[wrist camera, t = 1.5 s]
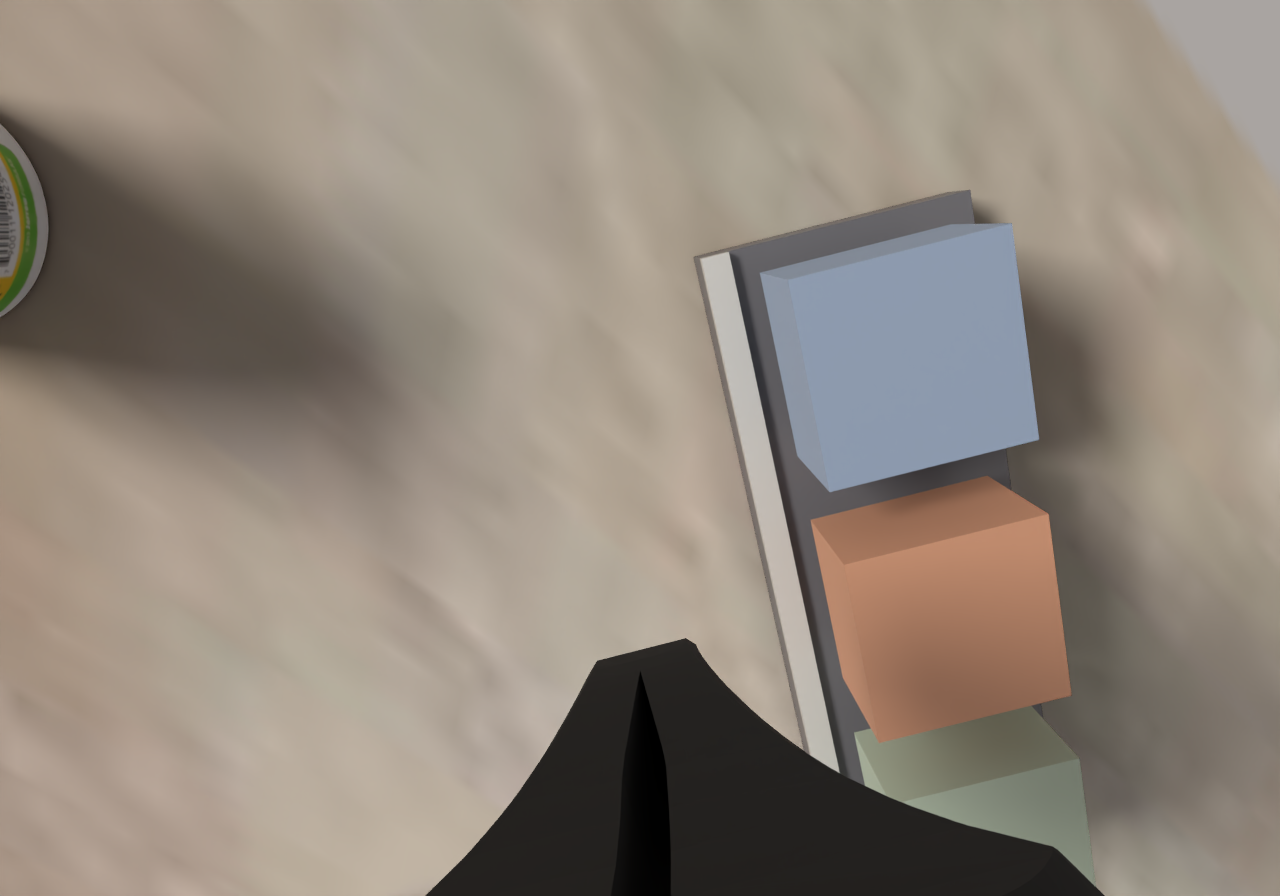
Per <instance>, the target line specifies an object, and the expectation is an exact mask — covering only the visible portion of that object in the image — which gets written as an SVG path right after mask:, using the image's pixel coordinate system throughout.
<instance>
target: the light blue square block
mask: <svg viewBox="0 0 1280 896" xmlns="http://www.w3.org/2000/svg"><path fill="white" fill-rule="evenodd" d="M760 276H761V281H762V286H763V291H764V296H765V300H766V305H767V310H768V315H769V320H770V325H771V330H772V335H773V339H774V344H775V349H776V354H777V359H778V364H779V369H780V374H781V379H782V383H783V388H784V393H785V398H786V403H787V408H788V413H789V418H790V422H791V427H792V432H793V437H794V442H795V447H796V452H797V456H798V457H799V459H800V460H801V461H802V462H803V463H804V464H805V465H806V466H807V467H808V469H809V470H810V471H811V472H812V473H813V474H814V475H815V476H816V478H817V479H818V480H819V481H820V482H821V483H822V484H823V485H824V486H825V488H826V489H827V490H828V491H829V492H833V491H837V490H841V489H845V488H849V487H853V486H857V485H861V484H865V483H869V482H873V481H877V480H881V479H885V478H889V477H893V476H897V475H901V474H905V473H909V472H913V471H916V470H920V469H924V468H928V467H932V466H936V465H940V464H944V463H948V462H952V461H956V460H960V459H964V458H968V457H972V456H976V455H980V454H984V453H988V452H992V451H996V450H1000V449H1004V448H1008V447H1012V446H1016V445H1020V444H1024V443H1028V442H1032V441H1036V440H1039V434H1038V426H1037V418H1036V411H1035V403H1034V395H1033V387H1032V379H1031V371H1030V363H1029V355H1028V347H1027V340H1026V332H1025V324H1024V316H1023V308H1022V300H1021V292H1020V284H1019V276H1018V269H1017V261H1016V253H1015V245H1014V237H1013V229H1012V223H999V224H950V225H946V226H942V227H938V228H934V229H930V230H927V231H923V232H919V233H915V234H911V235H907V236H903V237H899V238H895V239H891V240H887V241H883V242H879V243H875V244H871V245H867V246H863V247H859V248H855V249H852V250H848V251H844V252H840V253H836V254H832V255H828V256H824V257H820V258H816V259H812V260H808V261H804V262H800V263H796V264H792V265H788V266H784V267H781V268H777V269H773V270H769V271H765V272H761V273H760Z"/></svg>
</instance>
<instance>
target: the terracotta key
mask: <svg viewBox="0 0 1280 896" xmlns="http://www.w3.org/2000/svg"><path fill="white" fill-rule="evenodd" d="M811 525H812V530H813V535H814V540H815V545H816V549H817V554H818V559H819V564H820V569H821V574H822V579H823V584H824V588H825V593H826V598H827V603H828V608H829V613H830V618H831V623H832V628H833V632H834V637H835V642H836V647H837V652H838V657H839V662H840V667H841V671H842V676H843V679H844V681H845V683H846V684H847V686H848V688H849V690H850V692H851V693H852V695H853V697H854V699H855V701H856V702H857V704H858V706H859V708H860V710H861V711H862V713H863V715H864V717H865V719H866V720H867V722H868V724H869V726H870V728H871V729H872V731H873V733H874V735H875V737H876V739H877V740H878V742H879V743H882V742H886V741H890V740H894V739H898V738H902V737H906V736H910V735H914V734H918V733H922V732H926V731H930V730H934V729H938V728H942V727H946V726H951V725H955V724H959V723H963V722H967V721H971V720H975V719H979V718H983V717H987V716H991V715H995V714H999V713H1003V712H1007V711H1011V710H1015V709H1019V708H1024V707H1028V706H1032V705H1036V704H1040V703H1044V702H1048V701H1052V700H1056V699H1060V698H1064V697H1068V696H1072V694H1071V687H1070V679H1069V671H1068V663H1067V655H1066V647H1065V639H1064V631H1063V623H1062V616H1061V608H1060V600H1059V592H1058V584H1057V576H1056V568H1055V560H1054V553H1053V545H1052V537H1051V529H1050V521H1049V514H1048V513H1046V512H1045V511H1043V510H1041V509H1040V508H1038V507H1037V506H1035V505H1033V504H1032V503H1030V502H1029V501H1027V500H1025V499H1024V498H1022V497H1021V496H1019V495H1017V494H1016V493H1014V492H1013V491H1011V490H1009V489H1008V488H1006V487H1005V486H1003V485H1001V484H1000V483H998V482H997V481H995V480H993V479H992V478H990V477H989V476H984V477H980V478H976V479H972V480H968V481H964V482H960V483H956V484H952V485H948V486H944V487H940V488H936V489H932V490H928V491H924V492H920V493H916V494H912V495H908V496H904V497H900V498H896V499H892V500H888V501H884V502H880V503H876V504H872V505H868V506H864V507H860V508H856V509H852V510H848V511H844V512H840V513H836V514H832V515H828V516H824V517H820V518H816V519H812V520H811Z"/></svg>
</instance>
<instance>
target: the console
mask: <svg viewBox="0 0 1280 896" xmlns="http://www.w3.org/2000/svg"><path fill="white" fill-rule="evenodd" d="M950 224H975V222H974V214H973V207H972V200H971V193H970V190H965V191H956V192H947V193H943V194H939V195H935V196H931V197H927V198H923V199H920V200H916V201H912V202H908V203H904V204H900V205H896V206H892V207H888V208H884V209H880V210H876V211H872V212H868V213H864V214H860V215H857V216H853V217H849V218H845V219H841V220H837V221H833V222H829V223H825V224H821V225H817V226H813V227H809V228H805V229H801V230H797V231H793V232H790V233H786V234H782V235H778V236H774V237H770V238H766V239H762V240H758V241H754V242H750V243H746V244H742V245H738V246H734V247H730V248H727V249H723V250H719V251H715V252H711V253H707V254H703V255H699V256H695V257H694V261H695V266H696V270H697V275H698V279H699V284H700V288H701V292H702V297H703V301H704V306H705V310H706V315H707V319H708V324H709V328H710V333H711V337H712V342H713V346H714V351H715V355H716V359H717V364H718V368H719V373H720V377H721V382H722V386H723V391H724V395H725V400H726V404H727V409H728V413H729V418H730V422H731V427H732V431H733V435H734V440H735V444H736V449H737V453H738V458H739V462H740V467H741V471H742V476H743V480H744V485H745V489H746V494H747V498H748V502H749V507H750V511H751V516H752V520H753V525H754V529H755V534H756V538H757V543H758V547H759V552H760V556H761V561H762V565H763V569H764V574H765V578H766V583H767V587H768V592H769V596H770V601H771V605H772V610H773V614H774V619H775V623H776V628H777V632H778V637H779V641H780V645H781V650H782V654H783V659H784V663H785V668H786V672H787V677H788V681H789V686H790V690H791V695H792V699H793V704H794V708H795V712H796V717H797V721H798V726H799V730H800V735H801V739H802V744H803V748H804V751H805V752H806V753H808V754H809V755H811V756H812V757H814V758H816V759H817V760H819V761H820V762H822V763H823V764H825V765H827V766H828V767H830V768H831V769H833V770H835V771H837V772H839V773H840V774H842V775H844V776H846V777H847V778H849V779H852V780H854V781H856V782H858V783H860V784H862V785H864V786H865V784H864V779H863V774H862V769H861V764H860V759H859V754H858V750H857V745H856V740H855V735H854V733H855V732H859V731H863V730H867V729H871V728H870V726H869V724H868V722H867V720H866V719H865V717H864V715H863V713H862V711H861V710H860V708H859V706H858V704H857V702H856V701H855V699H854V697H853V695H852V693H851V692H850V690H849V688H848V686H847V684H846V683H845V681H844V679H843V676H842V671H841V667H840V662H839V657H838V652H837V647H836V642H835V637H834V632H833V628H832V623H831V618H830V613H829V608H828V603H827V598H826V593H825V588H824V584H823V579H822V574H821V569H820V564H819V559H818V554H817V549H816V545H815V540H814V535H813V530H812V525H811V520H812V519H816V518H820V517H824V516H828V515H832V514H836V513H840V512H844V511H848V510H852V509H856V508H860V507H864V506H868V505H872V504H876V503H880V502H884V501H888V500H892V499H896V498H900V497H904V496H908V495H912V494H916V493H920V492H924V491H928V490H932V489H936V488H940V487H944V486H948V485H952V484H956V483H960V482H964V481H968V480H972V479H976V478H980V477H984V476H989V477H990V478H992V479H993V480H995V481H997V482H998V483H1000V484H1001V485H1003V486H1005V487H1006V488H1008V489H1009V490H1011V483H1010V476H1009V468H1008V461H1007V454H1006V448H1004V449H1000V450H996V451H992V452H988V453H984V454H980V455H976V456H972V457H968V458H964V459H960V460H956V461H952V462H948V463H944V464H940V465H936V466H932V467H928V468H924V469H920V470H916V471H913V472H909V473H905V474H901V475H897V476H893V477H889V478H885V479H881V480H877V481H873V482H869V483H865V484H861V485H857V486H853V487H849V488H845V489H841V490H837V491H833V492H829V491H828V490H827V489H826V488H825V486H824V485H823V484H822V483H821V482H820V481H819V480H818V479H817V478H816V476H815V475H814V474H813V473H812V472H811V471H810V470H809V469H808V467H807V466H806V465H805V464H804V463H803V462H802V461H801V460H800V459H799V457H798V456H797V452H796V447H795V442H794V437H793V432H792V427H791V422H790V418H789V413H788V408H787V403H786V398H785V393H784V388H783V383H782V379H781V374H780V369H779V364H778V359H777V354H776V349H775V344H774V339H773V335H772V330H771V325H770V320H769V315H768V310H767V305H766V300H765V296H764V291H763V286H762V281H761V276H760V273H761V272H765V271H769V270H773V269H777V268H781V267H784V266H788V265H792V264H796V263H800V262H804V261H808V260H812V259H816V258H820V257H824V256H828V255H832V254H836V253H840V252H844V251H848V250H852V249H855V248H859V247H863V246H867V245H871V244H875V243H879V242H883V241H887V240H891V239H895V238H899V237H903V236H907V235H911V234H915V233H919V232H923V231H927V230H930V229H934V228H938V227H942V226H946V225H950ZM1011 491H1012V490H1011ZM1032 707H1033V708H1034V709H1035V710H1036V711H1037V712H1038V714H1039V715H1040V716H1041V717H1042V718H1043V715H1042V708H1041V703H1040V704H1036V705H1032Z"/></svg>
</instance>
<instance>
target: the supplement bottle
mask: <svg viewBox="0 0 1280 896" xmlns="http://www.w3.org/2000/svg"><path fill="white" fill-rule="evenodd" d="M48 231H49V227H48V213H47V207H46V202H45V198H44V194H43V191H42V187H41V184H40V182H39V179H38V177H37V174H36V172H35V170H34V168H33V166H32V164H31V162H30V161H29V159H28V157H27V156H26V154H25V153H24V151H23V150H22V148H21V147H20V146H19V144H18V143H17V142H16V140H15V139H14V138H13V137H12V136H11V134H10V133H9V132H8V131H7V130H6V129H5V128H4V127H3V126H2V125H1V124H0V317H1V316H3V315H4V314H6V313H7V312H9V311H10V310H11V309H13V308H14V307H15V306H16V305H17V304H18V303H19V302H20V301H21V300H22V299H23V298H24V297H25V296H26V295H27V293H28V292H29V291H30V289H31V288H32V286H33V285H34V283H35V281H36V279H37V277H38V275H39V273H40V270H41V268H42V265H43V262H44V258H45V254H46V249H47V242H48Z"/></svg>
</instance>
